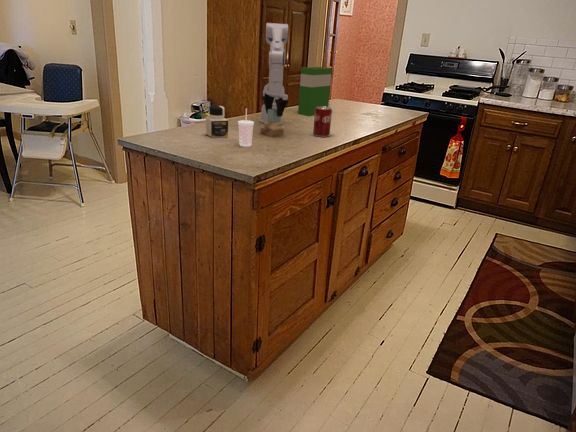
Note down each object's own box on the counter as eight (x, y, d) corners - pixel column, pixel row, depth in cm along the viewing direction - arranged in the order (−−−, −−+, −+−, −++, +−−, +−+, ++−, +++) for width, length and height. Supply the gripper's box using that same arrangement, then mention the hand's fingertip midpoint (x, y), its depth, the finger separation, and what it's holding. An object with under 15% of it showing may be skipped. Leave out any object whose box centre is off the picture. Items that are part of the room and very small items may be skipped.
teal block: (267, 120, 187) (267, 109, 185) (274, 120, 189) (275, 108, 187) (272, 122, 184) (273, 110, 182) (280, 122, 186) (281, 110, 184)
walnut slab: (260, 134, 188) (260, 128, 187) (271, 132, 193) (271, 126, 192) (272, 138, 184) (272, 131, 183) (283, 135, 189) (283, 129, 188)
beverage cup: (240, 147, 165) (241, 109, 160) (235, 143, 170) (236, 106, 165) (255, 146, 168) (256, 109, 162) (250, 142, 173) (251, 106, 167)
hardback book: (317, 111, 250) (320, 67, 241) (327, 113, 246) (331, 68, 237) (298, 114, 238) (301, 67, 228) (308, 116, 233) (312, 69, 224)
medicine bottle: (211, 138, 176) (211, 107, 171) (206, 134, 182) (205, 104, 177) (228, 137, 179) (228, 107, 174) (222, 133, 185) (222, 104, 180)
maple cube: (264, 128, 187) (265, 121, 186) (272, 126, 191) (272, 119, 190) (273, 130, 184) (274, 123, 183) (281, 128, 188) (281, 121, 187)
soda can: (331, 134, 195) (333, 107, 190) (327, 138, 189) (329, 110, 184) (315, 132, 197) (317, 105, 192) (310, 135, 191) (313, 108, 186)
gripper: (257, 79, 182) (256, 112, 188) (278, 84, 172) (277, 118, 178) (271, 79, 187) (269, 111, 192) (292, 83, 177) (290, 117, 182)
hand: (274, 114), depth 185 cm, fingers open, 7 cm apart
